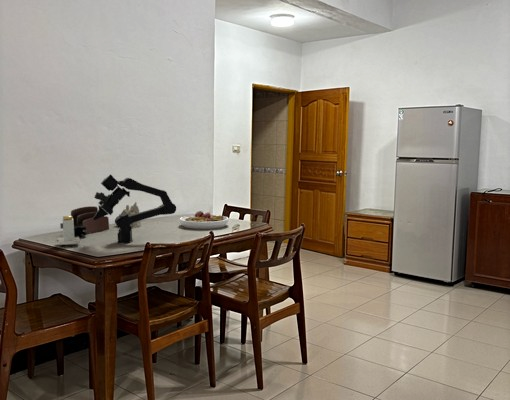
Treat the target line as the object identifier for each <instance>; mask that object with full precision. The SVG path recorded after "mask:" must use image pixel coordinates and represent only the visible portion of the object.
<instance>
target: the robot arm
mask: <svg viewBox="0 0 510 400" xmlns="http://www.w3.org/2000/svg"><path fill="white" fill-rule="evenodd" d="M100 184H101V185H102V186H103V187H104V188H105V189H106V190H107V191H108V192H109V191H111V193H110V194H108V195H105V192H98V191H96V192H95V195H94V197H93V198H94V199H96V200H99V202H98V206H97V207H98V211H97V213H96V215H95V216H94V218H93V219H94V220H96V219H99V218H101V217H103V216H108V215H110V216H112V215H113V213H114V208H115V206H116V205H118V204H119V203H120V201H121V200H123V198H124V197H125V196H127V197H131V196H130V194H131V193H130V191H137V192H143V193H146V194H149V195H153V196H156V197H159V198H160V200H161V202H162V204H160V205H159V206H157V207H154V208H151V209H148V210H143V211H139V213H137V214H133V215H128V213H124V214H121V213H119V214H118V216H116V217H115V220H114V224H115V225H116V226H117V227H118V228H119V230H117V231H118V232H117V243H124V244H125V243H127V244H128V243H131V242H133V241H134V239H133V228H132V227H131V226H130V225H131V224H132V223H134V222H137V221H140V222H141V221H143V220H146V219H151V218H153V217H157V216H160V215H162V216H163V215H164V216H165V215H174V214H175V213H176V212H177V206H176V204H175V203H173V202H172V199H171V198H170V196H169V194H168V193H167V191H165V190H164V189H159V188H156V187H153V186H150V185H146V184H142V183H140V182H138V181H137V180H135V179H134V178H133V179H132V177H126V178H124V179H123V180H117V179H115V177H114V176H113V175H112V174H109V175H107V177H105V178H103V180H102V181H101V182H100ZM121 187H122V188H121ZM119 215H120V216H119Z"/></svg>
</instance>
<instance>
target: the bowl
mask: <svg viewBox="0 0 510 400" xmlns="http://www.w3.org/2000/svg"><path fill="white" fill-rule="evenodd" d="M179 222H180V224H181V226H182V227H184V228H187V229H193V230H215V229H221V228H224V227H226V225H228V222H229V217H228V216H224V215H220V214H219V215H216V214H211V213H210V212H206V213H204V211H201V210H199V211H196V212H195V214H193V215H192V214H191V215H185V216H182V217H180V218H179Z"/></svg>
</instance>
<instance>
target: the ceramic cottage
mask: <svg viewBox="0 0 510 400" xmlns="http://www.w3.org/2000/svg"><path fill="white" fill-rule="evenodd" d="M124 213H128V215H133V214H137V213H140V209H139V206H138V203H137V202H136V201H135V202H134V204H133V205H131V206H130V205H129V204H126V206H125V208H124V209H123V210H122V211H121V213H120V214H124ZM118 216H120V215H119V214H118ZM141 223H142V222H141V220H140V221H137V222H134V223H132V224H131V225H130V226H131V227H132V229H134V228H140V227H142V224H141Z"/></svg>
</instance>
